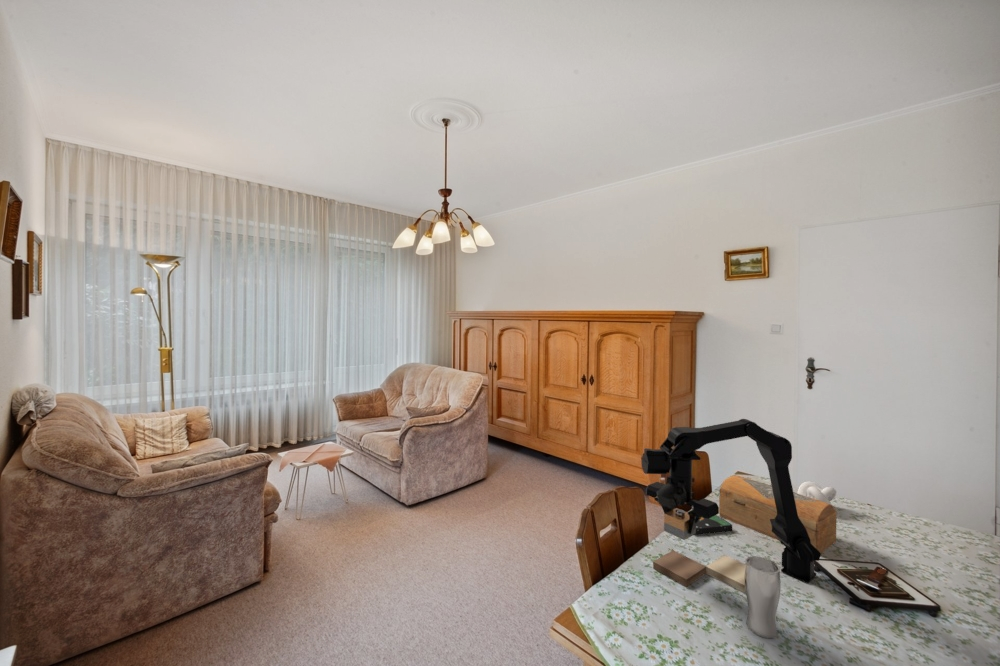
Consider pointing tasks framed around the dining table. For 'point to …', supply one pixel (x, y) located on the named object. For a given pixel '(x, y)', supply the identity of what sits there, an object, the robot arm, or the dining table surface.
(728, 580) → the stand
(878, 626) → the dining table surface
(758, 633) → the beer glass
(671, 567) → the stand
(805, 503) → the wooden box
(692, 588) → the dining table surface
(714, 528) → the disk drive
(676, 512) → the block
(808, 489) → the white knot sculpture
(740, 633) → the dining table surface
